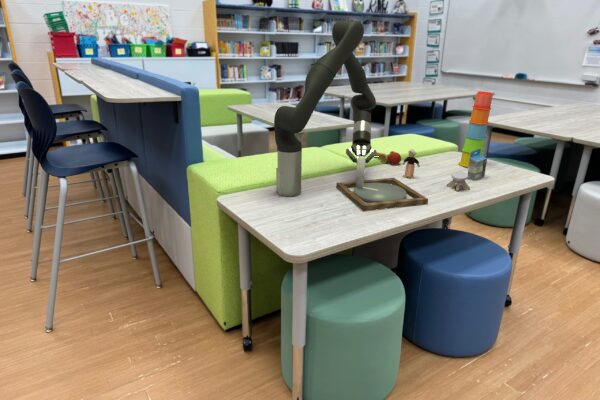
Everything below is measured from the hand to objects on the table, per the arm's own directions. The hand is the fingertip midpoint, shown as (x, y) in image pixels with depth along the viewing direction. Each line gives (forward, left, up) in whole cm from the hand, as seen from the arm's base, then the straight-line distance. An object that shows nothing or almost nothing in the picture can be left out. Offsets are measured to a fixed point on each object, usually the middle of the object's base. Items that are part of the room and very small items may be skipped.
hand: (360, 170), depth 172 cm
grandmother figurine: (+27, +6, -7) cm, 28 cm away
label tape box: (+55, -2, -7) cm, 55 cm away
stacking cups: (+65, +15, -7) cm, 67 cm away
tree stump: (+39, -11, -7) cm, 41 cm away
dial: (+4, -11, -7) cm, 14 cm away
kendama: (+29, +32, -7) cm, 44 cm away
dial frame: (+4, -11, -7) cm, 14 cm away
